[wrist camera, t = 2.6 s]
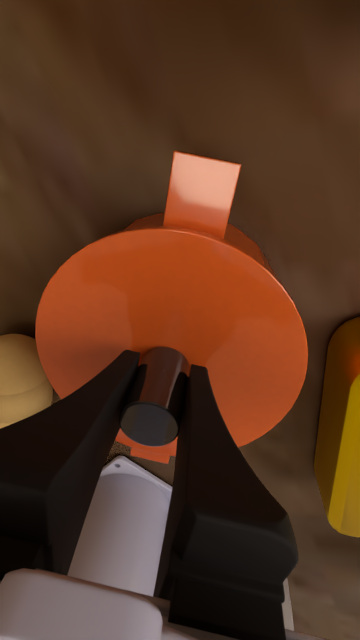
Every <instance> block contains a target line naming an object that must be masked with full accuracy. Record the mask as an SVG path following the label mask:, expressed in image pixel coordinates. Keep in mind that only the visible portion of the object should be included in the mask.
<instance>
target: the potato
mask: <svg viewBox="0 0 360 640" xmlns="http://www.w3.org/2000/svg"><path fill="white" fill-rule="evenodd" d="M52 399H53V387H52V385H51V383H50V382H49V380H48V378H47V376H46V374H45V372H44V370H43V367H42V365H41V362H40V358H39V355H38V351H37V345H36V340H35V339H34V338H32V337H29V336H26V335H22V334H6V335H2V336H0V428H3V427H6V426H8V425H11V424H13V423H16V422H18V421H20V420H23V419H25V418H27V417H29V416H32V415H34V414H36V413H38V412H40V411H42V410H44V409H45V408H47V407H49V406H51V403H52Z"/></svg>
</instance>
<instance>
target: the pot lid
mask: <svg viewBox="0 0 360 640" xmlns="http://www.w3.org/2000/svg"><path fill="white" fill-rule="evenodd" d="M35 338H36V345H37V351H38V355H39V358H40V362H41V365H42V367H43V370H44V372H45V374H46V376H47V378H48V380H49V382H50V383H51V385H52V387H53V388H54V390H55V391H56V393H57V394H58V395H59V397H60V398H61V399H63V398H65V397H66V396H68V395H70V394H71V393H73V392H74V391H76V390H77V389H79V388H80V387H81V386H83V385H84V384H85V383H87V382H88V381H90V380H91V379H92V378H94V377H95V376H96V375H97V374H98V373H100V372H101V371H102V370H103V369H104V368H106V367H107V366H108V365H109V364H110V363H111V362H112V361H114V360H115V359H116V358H117V357H118V356H119V355H120V354H121V353H122V352H123V351H124V350H131V351H136V352H140V358H139V365H138V369H137V371H136V374H135V376H134V379H133V381H132V384H131V386H130V389H129V391H128V394H127V396H126V399H125V401H124V404H123V406H122V409H121V411H120V414H119V425H120V430H119V432H118V434H117V436H116V439H115V441H117V442H119V443H122V444H124V445H127V446H130V447H132V448H135V449H139V450H142V451H146V452H150V453H155V454H161V455H169V456H176V448H177V436H178V434H179V432H180V427H181V421H182V415H183V409H184V403H185V394H186V388H187V382H188V376H189V372H190V368H191V364H194V365H199V366H203V367H206V368H207V370H208V375H209V379H210V383H211V387H212V390H213V394H214V397H215V399H216V402H217V405H218V408H219V410H220V413H221V415H222V417H223V420H224V422H225V424H226V426H227V428H228V430H229V432H230V434H231V436H232V438H233V440H234V442H235V443H236V445H237V447H241V446H243V445H246V444H248V443H250V442H252V441H254V440H255V439H257V438H259V437H261V436H262V435H264V434H265V433H266V432H268V431H269V430H271V429H272V428H273V427H274V426H275V425H276V424H277V423H279V422H280V421H281V420H282V419H283V418H284V416H285V415H286V414H287V413H288V411H289V410H290V409H291V408H292V406H293V404H294V403H295V401H296V399H297V398H298V396H299V393H300V391H301V388H302V386H303V383H304V380H305V376H306V371H307V366H308V345H307V337H306V332H305V329H304V326H303V322H302V319H301V316H300V314H299V312H298V310H297V308H296V306H295V304H294V302H293V299H292V297H291V296H290V295H289V293H288V292H287V290H286V289H285V287H284V286H283V284H282V283H281V282H280V281H279V279H278V278H277V277H276V276H275V275H274V274H273V273H272V272H271V271H270V270H269V269H268V268H267V267H266V266H265V265H264V264H262V263H261V262H260V261H259V260H257V259H256V258H255V257H254V256H252V255H251V254H250V253H248V252H246V251H245V250H243V249H241V248H240V247H238V246H236V245H235V244H233V243H230V242H228V241H226V240H223V239H221V238H219V237H216V236H214V235H211V234H208V233H204V232H200V231H197V230H193V229H187V228H180V227H173V226H146V227H138V228H131V229H126V230H123V231H119V232H116V233H112V234H109V235H107V236H104V237H102V238H100V239H98V240H96V241H93V242H92V243H90V244H88V245H87V246H85V247H84V248H82V249H81V250H79V251H78V252H76V253H75V254H73V255H72V256H71V257H70V258H69V259H68V260H67V261H66V262H65V263H64V264H62V265H61V266H60V268H59V269H58V270H57V271H56V273H55V274H54V275H53V276H52V278H51V279H50V281H49V283H48V284H47V286H46V288H45V290H44V292H43V294H42V297H41V300H40V303H39V306H38V310H37V316H36V322H35Z"/></svg>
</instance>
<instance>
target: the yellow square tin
mask: <svg viewBox="0 0 360 640" xmlns="http://www.w3.org/2000/svg"><path fill="white" fill-rule="evenodd" d="M314 471H315V475H316V479H317V482H318V486H319V490H320V493H321V497H322V501H323V504H324V508H325V512H326V516H327V519H328V521H329V523H330V524H331V526H332V528H334V529H335V530H337V531H338V532H339V533H341V534H345V535H349V536H354V537H360V316H359V317H356V318H353V319H351V320H348V321H346V322H345V323H344V324H342V325H341V326H340V327H338V328H337V330H336V331H335V333H334V334H333V336H332V337H331V339H330V342H329V344H328V351H327V360H326V368H325V376H324V385H323V393H322V401H321V410H320V418H319V426H318V434H317V443H316V451H315V459H314Z"/></svg>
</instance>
